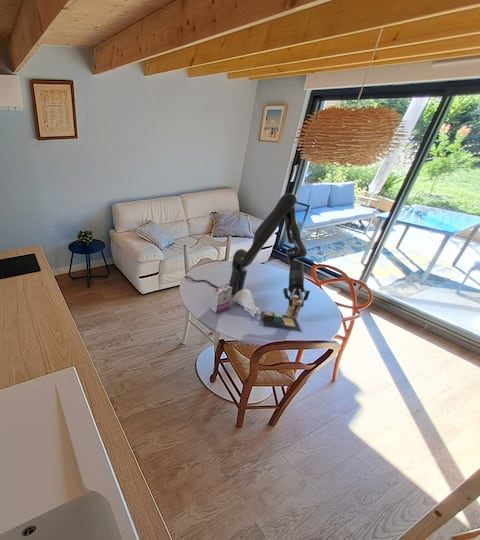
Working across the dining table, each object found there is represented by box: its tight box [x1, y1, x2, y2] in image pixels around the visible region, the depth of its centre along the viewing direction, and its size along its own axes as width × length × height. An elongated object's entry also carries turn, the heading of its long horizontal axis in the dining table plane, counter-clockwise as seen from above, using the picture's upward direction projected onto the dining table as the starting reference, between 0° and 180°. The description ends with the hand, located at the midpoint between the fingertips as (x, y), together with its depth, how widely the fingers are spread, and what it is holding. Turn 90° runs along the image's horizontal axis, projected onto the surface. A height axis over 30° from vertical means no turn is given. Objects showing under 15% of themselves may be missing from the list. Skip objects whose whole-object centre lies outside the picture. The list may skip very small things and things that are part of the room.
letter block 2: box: [272, 311, 283, 323], centre depth 173 cm, size 4×4×5 cm
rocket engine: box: [233, 288, 262, 318], centre depth 183 cm, size 12×12×18 cm
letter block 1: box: [261, 310, 273, 322], centre depth 174 cm, size 4×4×5 cm
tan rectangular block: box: [285, 296, 302, 320], centre depth 167 cm, size 5×5×12 cm
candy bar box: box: [210, 284, 233, 314], centre depth 181 cm, size 11×5×16 cm, turn 117°
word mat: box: [260, 311, 302, 332], centre depth 173 cm, size 20×14×1 cm
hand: (295, 306), depth 165 cm, fingers closed on tan rectangular block, 4 cm apart
